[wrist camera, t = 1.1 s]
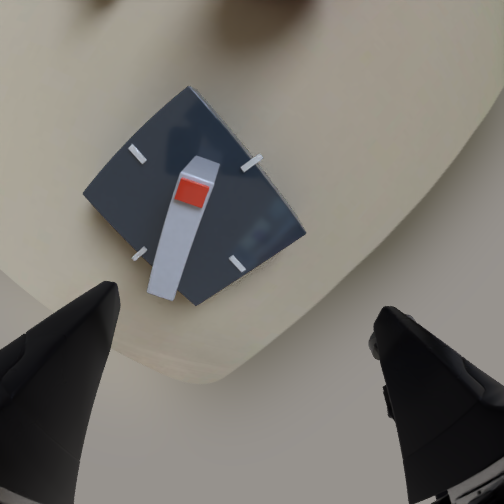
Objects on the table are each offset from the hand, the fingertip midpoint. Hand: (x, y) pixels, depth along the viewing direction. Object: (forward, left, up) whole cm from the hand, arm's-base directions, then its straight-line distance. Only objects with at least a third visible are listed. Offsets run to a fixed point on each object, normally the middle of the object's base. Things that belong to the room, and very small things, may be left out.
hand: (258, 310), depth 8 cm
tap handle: (+2, +3, -10) cm, 10 cm away
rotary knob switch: (+2, +3, -13) cm, 13 cm away
